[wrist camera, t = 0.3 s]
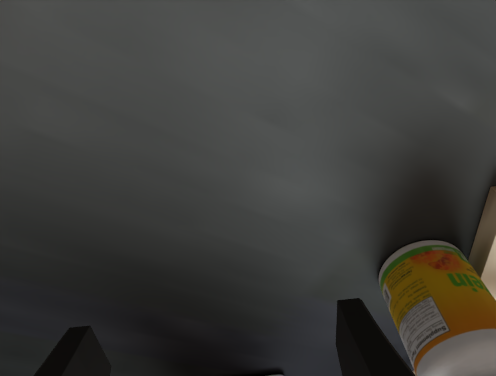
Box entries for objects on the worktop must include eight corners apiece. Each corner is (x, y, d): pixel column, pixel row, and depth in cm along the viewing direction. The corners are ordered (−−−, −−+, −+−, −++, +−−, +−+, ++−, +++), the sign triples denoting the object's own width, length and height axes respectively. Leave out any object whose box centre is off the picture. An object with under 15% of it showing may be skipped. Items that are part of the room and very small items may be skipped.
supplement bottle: (480, 254, 24) (605, 417, 16) (421, 306, 27) (504, 468, 19) (415, 225, 23) (518, 389, 15) (359, 282, 25) (421, 449, 17)
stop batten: (470, 330, 29) (481, 348, 27) (445, 332, 29) (455, 351, 27) (523, 183, 21) (542, 199, 20) (490, 186, 21) (506, 202, 20)
